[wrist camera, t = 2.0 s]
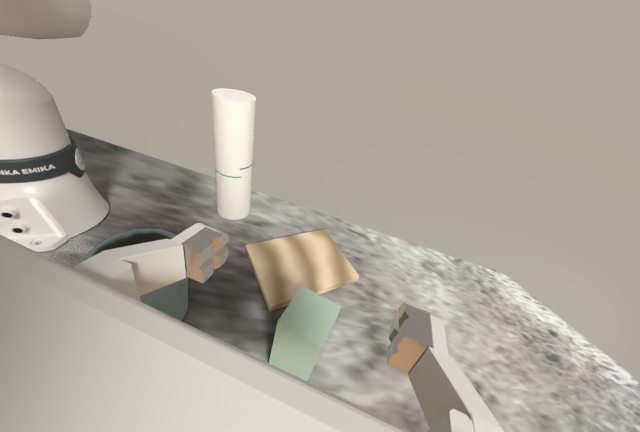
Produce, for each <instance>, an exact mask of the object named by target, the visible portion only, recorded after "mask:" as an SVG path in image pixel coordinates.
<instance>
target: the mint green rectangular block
mask: <svg viewBox="0 0 640 432" xmlns="http://www.w3.org/2000/svg"><path fill="white" fill-rule="evenodd" d="M340 308H341V306H340V305H338V304H336V303H334V302H332V301H330V300H328V299H327V298H325V297H323V296H321V295H319V294H317V293H315V292H313V291H312V290H310V289H308V288H306V287H304V286H302V285H301V286H300V288H299V289H298V291H297V292H296V294H295V296H294V297H293V299H292V300H291V302H290V303H289V305H288V306H287V308H286V309H285V311H284V312H283V314H282V315H281V317H280V319H279V320H278V322H277V327H276V331H275V336H274V341H273V345H272V350H271V355H270V359H269V363H270V364H272V365H274V366H276V367H278V368H280V369H282V370H284V371H287V372H289V373H291V374H293V375H295V376H297V377H299V378H301V379H303V380H305V381H307V380H308V378H309V376H310V374H311V372H312V370H313V368H314V366H315V364H316V362H317V360H318V358H319V356H320V354H321V352H322V350H323V347H324V345H325V343H326V341H327V338H328V336H329V334H330V331H331V329H332V327H333V325H334V322H335V320H336V318H337V315H338V313H339V311H340Z"/></svg>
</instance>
